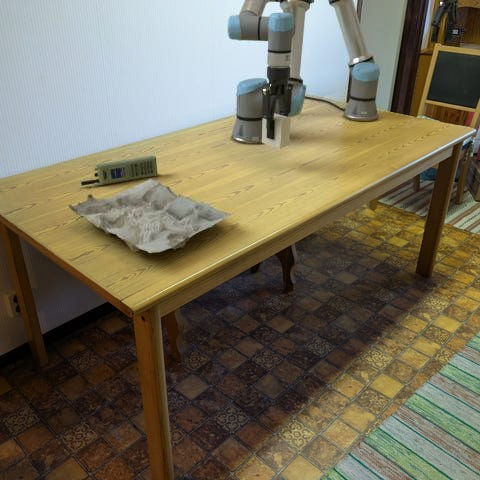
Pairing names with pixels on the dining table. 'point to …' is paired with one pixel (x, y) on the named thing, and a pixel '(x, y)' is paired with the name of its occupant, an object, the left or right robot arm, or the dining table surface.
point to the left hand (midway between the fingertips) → (275, 136)
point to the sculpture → (149, 216)
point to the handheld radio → (124, 170)
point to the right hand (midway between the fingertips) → (441, 41)
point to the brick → (278, 131)
